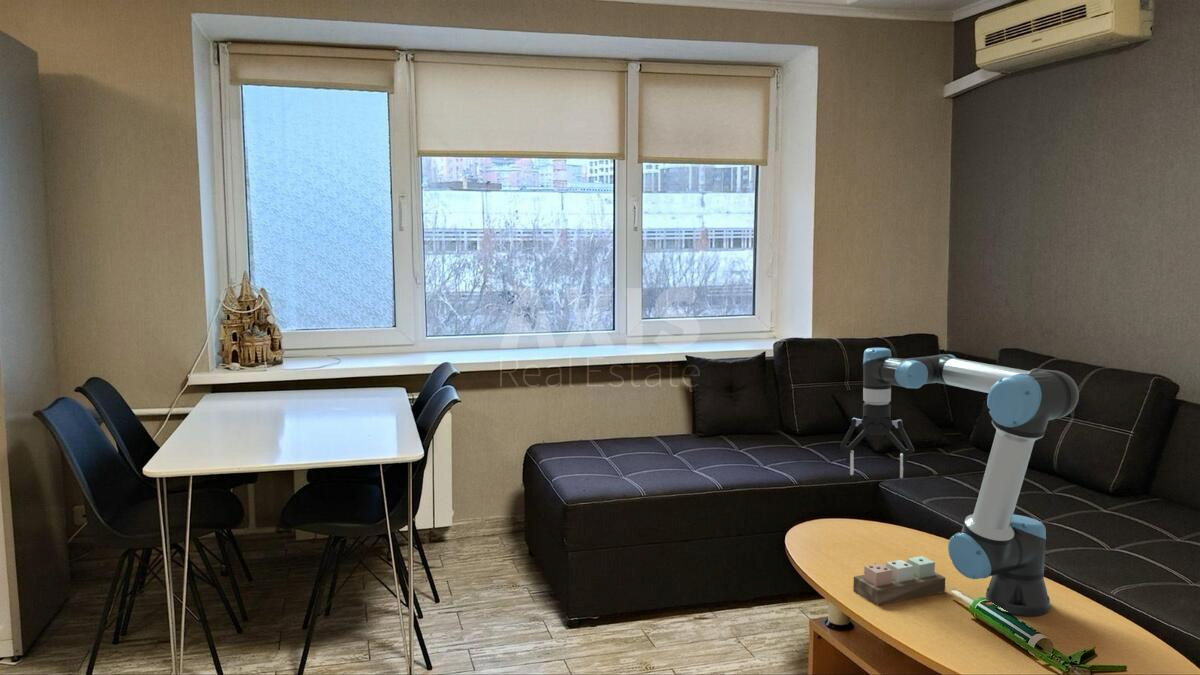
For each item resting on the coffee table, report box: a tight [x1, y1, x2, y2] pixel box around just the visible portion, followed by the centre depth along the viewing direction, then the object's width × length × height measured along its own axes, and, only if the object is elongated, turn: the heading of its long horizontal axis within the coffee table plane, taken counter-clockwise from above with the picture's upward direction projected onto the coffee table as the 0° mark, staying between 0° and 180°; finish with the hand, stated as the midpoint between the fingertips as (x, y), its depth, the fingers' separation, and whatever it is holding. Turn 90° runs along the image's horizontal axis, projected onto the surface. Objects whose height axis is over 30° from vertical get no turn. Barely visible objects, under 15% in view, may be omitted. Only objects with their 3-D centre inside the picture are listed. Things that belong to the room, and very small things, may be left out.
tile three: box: [863, 563, 892, 586], centre depth 241 cm, size 5×5×5 cm
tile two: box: [885, 559, 914, 582], centre depth 244 cm, size 5×5×5 cm
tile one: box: [906, 555, 936, 578], centre depth 246 cm, size 5×5×5 cm
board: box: [852, 571, 946, 606], centre depth 244 cm, size 10×22×4 cm, turn 111°
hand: (876, 475), depth 260 cm, fingers open, 13 cm apart
